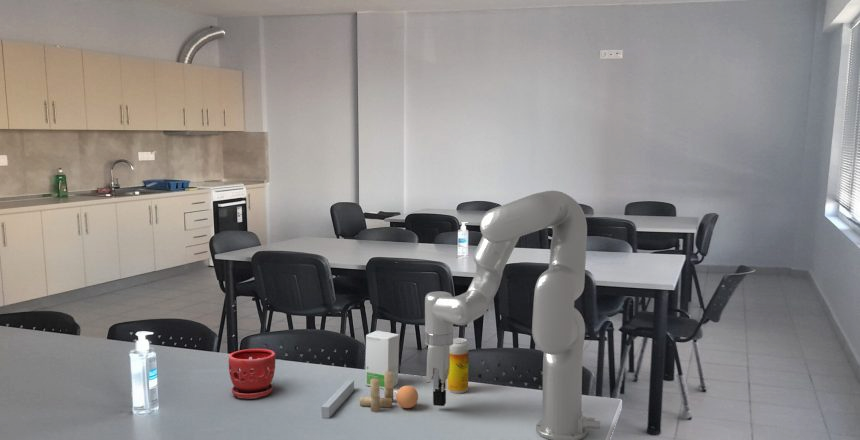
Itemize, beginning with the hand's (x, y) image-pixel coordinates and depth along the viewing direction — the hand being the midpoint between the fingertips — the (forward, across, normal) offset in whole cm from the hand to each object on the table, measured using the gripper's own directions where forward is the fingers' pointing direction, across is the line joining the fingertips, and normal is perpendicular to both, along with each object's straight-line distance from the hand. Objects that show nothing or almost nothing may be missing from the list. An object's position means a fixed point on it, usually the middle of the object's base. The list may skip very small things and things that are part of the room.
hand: (439, 404), depth 188 cm
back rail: (+2, 0, -28) cm, 29 cm away
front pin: (0, 0, -14) cm, 14 cm away
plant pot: (+2, -3, -56) cm, 56 cm away
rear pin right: (+2, -4, -15) cm, 15 cm away
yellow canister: (+2, -16, +2) cm, 16 cm away
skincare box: (+2, -17, -20) cm, 27 cm away
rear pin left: (+2, +4, -17) cm, 17 cm away
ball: (-2, 0, -9) cm, 9 cm away
